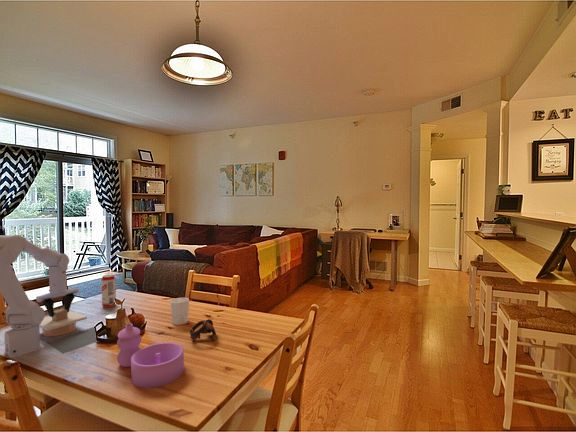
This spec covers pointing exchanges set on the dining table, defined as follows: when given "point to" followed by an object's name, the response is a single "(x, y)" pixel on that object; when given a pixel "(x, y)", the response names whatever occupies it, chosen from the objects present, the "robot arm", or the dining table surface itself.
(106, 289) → the beer can
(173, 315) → the white cup
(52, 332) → the bowl
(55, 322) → the lid
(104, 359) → the dining table surface
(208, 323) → the dark brown arched piece
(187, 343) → the dining table surface
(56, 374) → the dining table surface
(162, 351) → the container set
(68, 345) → the mat
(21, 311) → the robot arm
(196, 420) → the dining table surface
